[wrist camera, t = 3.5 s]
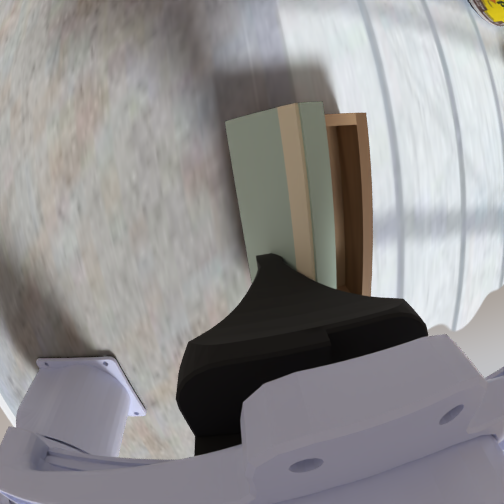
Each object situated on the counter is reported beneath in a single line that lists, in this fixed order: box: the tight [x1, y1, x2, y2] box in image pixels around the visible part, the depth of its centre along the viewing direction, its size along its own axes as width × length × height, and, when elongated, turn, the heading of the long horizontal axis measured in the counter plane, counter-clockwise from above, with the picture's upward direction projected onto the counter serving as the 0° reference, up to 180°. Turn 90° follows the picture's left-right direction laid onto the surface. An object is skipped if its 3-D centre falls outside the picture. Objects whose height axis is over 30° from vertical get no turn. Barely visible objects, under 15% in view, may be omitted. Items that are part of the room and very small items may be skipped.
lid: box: [225, 101, 337, 289], centre depth 12 cm, size 7×12×1 cm
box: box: [324, 113, 373, 297], centre depth 17 cm, size 6×12×4 cm, turn 9°
